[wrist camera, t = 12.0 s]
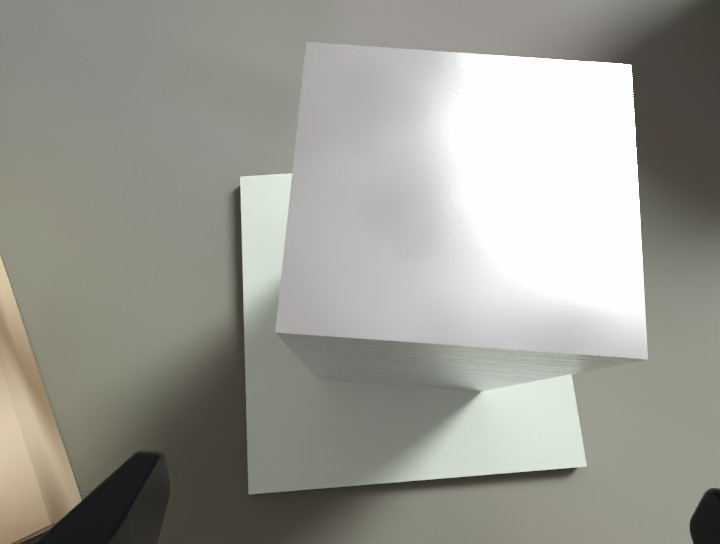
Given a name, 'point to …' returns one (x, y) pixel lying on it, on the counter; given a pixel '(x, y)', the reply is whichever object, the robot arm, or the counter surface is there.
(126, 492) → the robot arm
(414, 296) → the steel cap block
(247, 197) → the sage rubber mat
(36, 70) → the counter surface
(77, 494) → the oak socket frame
